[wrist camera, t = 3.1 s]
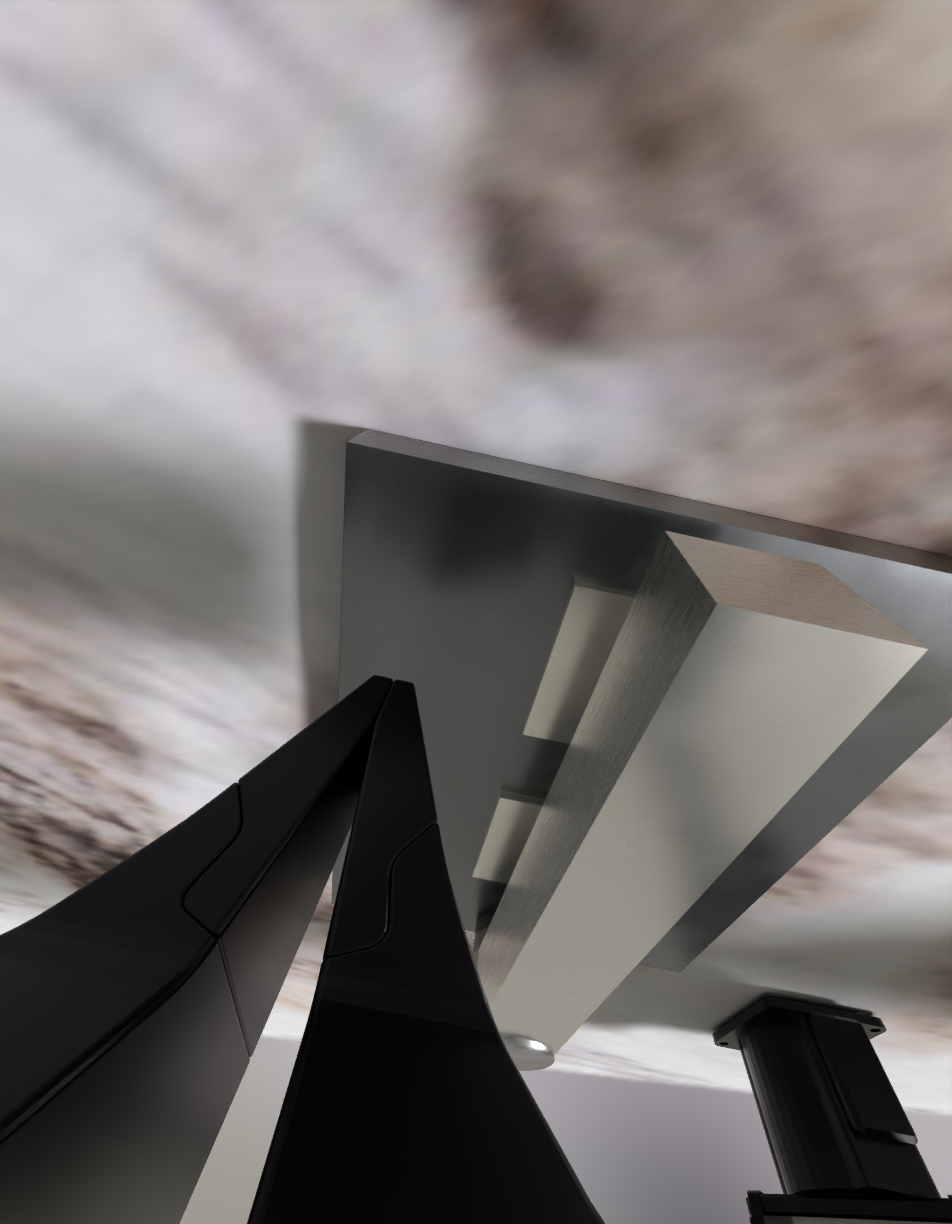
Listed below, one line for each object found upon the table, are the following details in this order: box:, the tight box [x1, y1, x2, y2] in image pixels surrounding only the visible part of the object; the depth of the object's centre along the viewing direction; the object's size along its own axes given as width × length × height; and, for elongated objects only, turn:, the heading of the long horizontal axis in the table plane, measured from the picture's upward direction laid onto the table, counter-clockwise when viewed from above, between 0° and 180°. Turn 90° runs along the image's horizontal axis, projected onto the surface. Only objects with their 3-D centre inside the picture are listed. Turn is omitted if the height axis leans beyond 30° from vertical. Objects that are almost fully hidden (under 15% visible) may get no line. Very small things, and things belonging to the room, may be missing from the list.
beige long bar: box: [473, 531, 928, 1071], centre depth 13 cm, size 21×3×3 cm, turn 169°
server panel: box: [332, 429, 952, 972], centre depth 15 cm, size 21×16×2 cm
